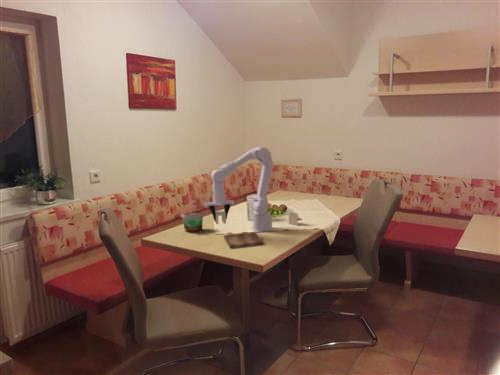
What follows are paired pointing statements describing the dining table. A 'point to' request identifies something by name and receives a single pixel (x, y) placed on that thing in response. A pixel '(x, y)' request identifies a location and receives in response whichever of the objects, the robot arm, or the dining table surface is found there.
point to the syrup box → (249, 207)
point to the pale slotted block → (220, 213)
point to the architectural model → (294, 218)
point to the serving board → (243, 240)
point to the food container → (193, 222)
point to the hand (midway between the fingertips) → (220, 219)
